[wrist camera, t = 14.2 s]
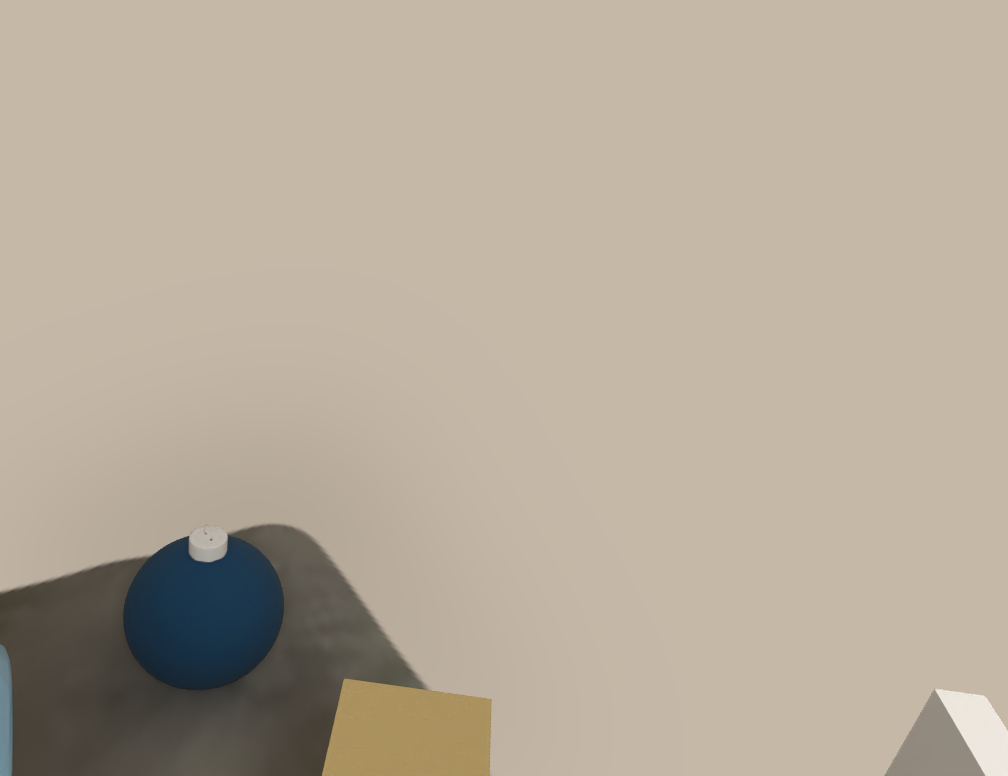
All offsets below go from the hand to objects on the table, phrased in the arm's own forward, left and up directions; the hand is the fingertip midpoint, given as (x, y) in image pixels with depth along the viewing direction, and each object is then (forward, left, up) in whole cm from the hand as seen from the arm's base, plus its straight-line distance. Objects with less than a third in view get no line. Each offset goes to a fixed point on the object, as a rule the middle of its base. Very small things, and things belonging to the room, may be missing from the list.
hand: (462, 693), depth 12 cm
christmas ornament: (-14, +27, -30) cm, 43 cm away
